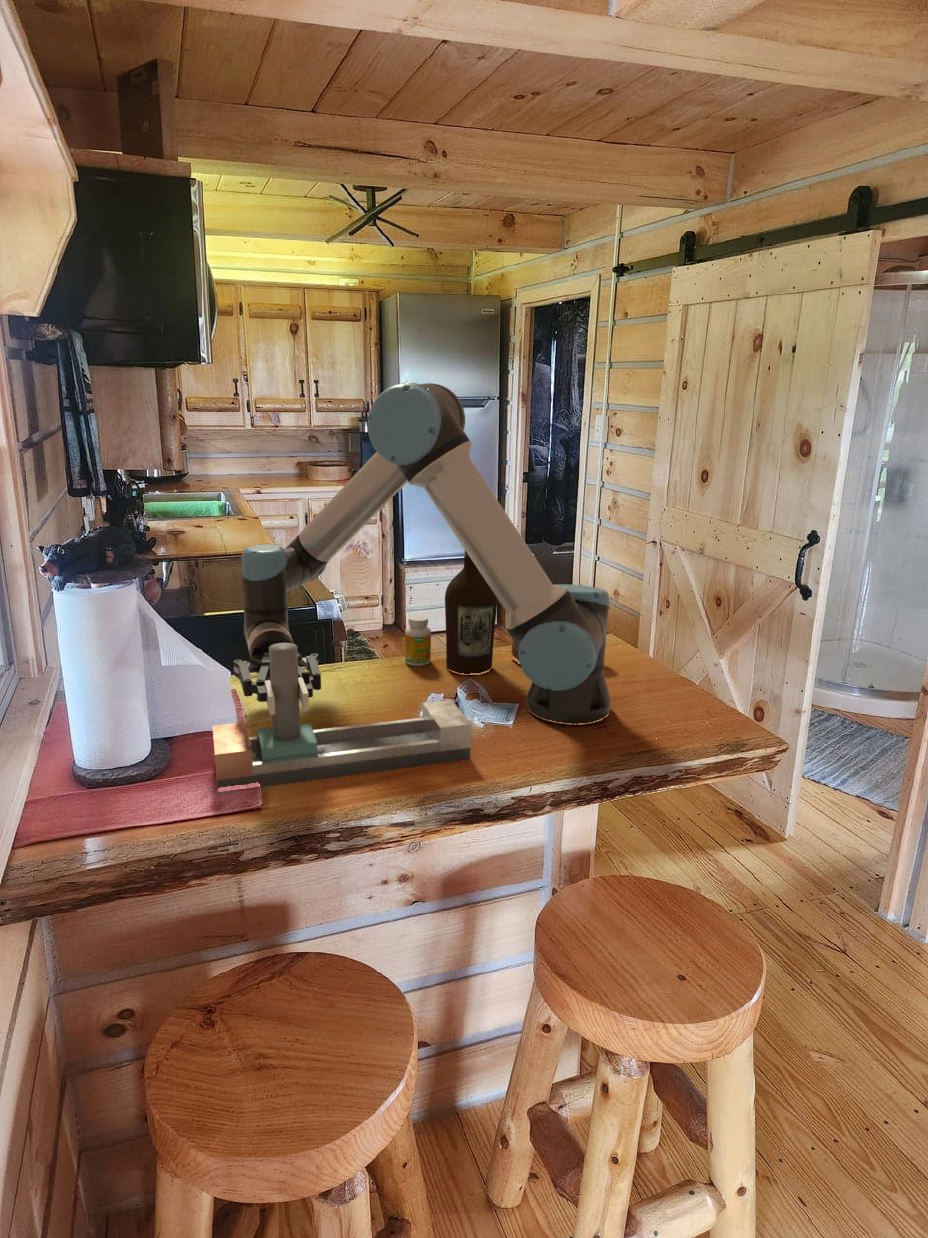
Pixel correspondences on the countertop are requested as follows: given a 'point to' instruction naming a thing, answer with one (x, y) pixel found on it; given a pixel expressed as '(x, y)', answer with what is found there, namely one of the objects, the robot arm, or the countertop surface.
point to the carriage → (285, 710)
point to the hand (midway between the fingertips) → (289, 703)
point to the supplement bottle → (418, 641)
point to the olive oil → (469, 621)
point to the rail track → (347, 749)
